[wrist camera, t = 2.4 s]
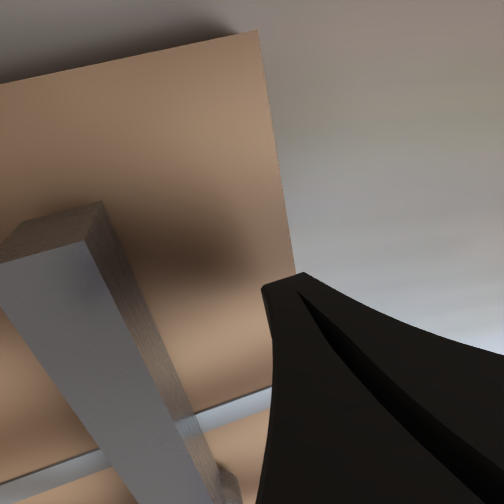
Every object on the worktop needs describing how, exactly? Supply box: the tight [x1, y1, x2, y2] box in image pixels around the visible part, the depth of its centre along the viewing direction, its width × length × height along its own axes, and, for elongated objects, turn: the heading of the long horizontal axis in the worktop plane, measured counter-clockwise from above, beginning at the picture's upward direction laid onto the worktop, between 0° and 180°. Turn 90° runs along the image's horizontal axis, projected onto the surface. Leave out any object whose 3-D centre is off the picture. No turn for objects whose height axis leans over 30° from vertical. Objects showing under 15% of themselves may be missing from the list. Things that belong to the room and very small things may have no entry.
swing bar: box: [0, 201, 243, 504], centre depth 11 cm, size 16×3×3 cm, turn 11°
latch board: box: [0, 30, 296, 504], centre depth 13 cm, size 22×24×2 cm
